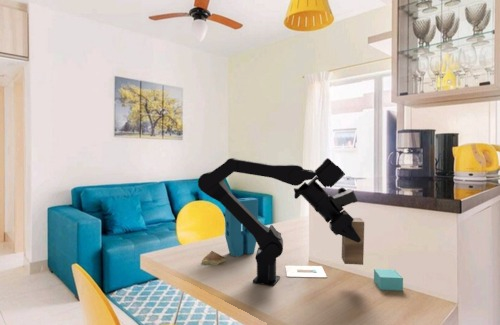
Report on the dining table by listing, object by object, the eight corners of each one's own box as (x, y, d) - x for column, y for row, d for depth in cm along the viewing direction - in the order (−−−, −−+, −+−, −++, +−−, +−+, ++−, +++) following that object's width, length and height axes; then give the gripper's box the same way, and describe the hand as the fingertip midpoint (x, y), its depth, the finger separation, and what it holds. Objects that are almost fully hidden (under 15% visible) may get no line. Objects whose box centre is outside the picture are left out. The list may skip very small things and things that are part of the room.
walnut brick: (363, 264, 88) (364, 221, 88) (344, 263, 89) (345, 221, 88) (359, 258, 93) (360, 218, 93) (341, 257, 94) (342, 217, 93)
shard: (211, 254, 119) (211, 249, 119) (231, 256, 117) (231, 251, 117) (200, 265, 108) (200, 259, 108) (222, 266, 107) (222, 261, 107)
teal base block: (402, 290, 87) (403, 278, 87) (380, 289, 88) (380, 277, 88) (395, 281, 93) (395, 269, 93) (373, 280, 94) (374, 268, 94)
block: (251, 248, 125) (251, 197, 124) (258, 251, 120) (258, 199, 120) (224, 253, 118) (224, 200, 117) (231, 257, 114) (230, 202, 113)
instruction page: (327, 277, 96) (327, 276, 96) (287, 277, 97) (287, 276, 97) (321, 266, 105) (321, 265, 105) (285, 266, 106) (285, 265, 106)
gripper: (345, 183, 81) (389, 227, 81) (334, 176, 100) (370, 212, 99) (313, 212, 83) (356, 256, 82) (308, 200, 101) (343, 236, 100)
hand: (357, 238), depth 91 cm, fingers closed on walnut brick, 5 cm apart
